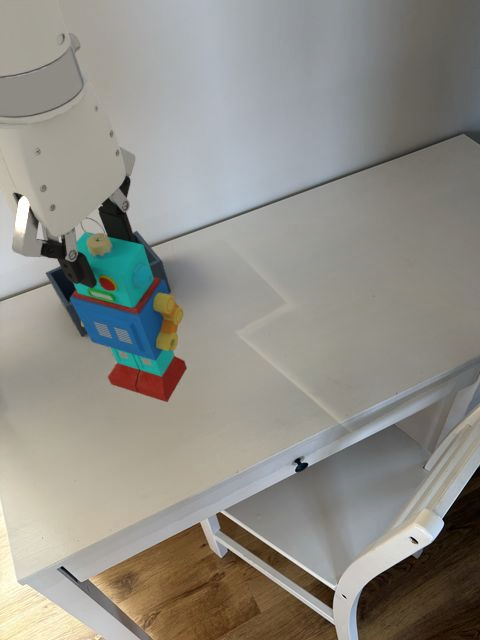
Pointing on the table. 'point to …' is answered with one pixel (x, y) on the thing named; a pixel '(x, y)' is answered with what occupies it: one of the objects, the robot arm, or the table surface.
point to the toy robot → (130, 315)
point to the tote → (67, 288)
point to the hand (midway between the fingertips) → (103, 260)
